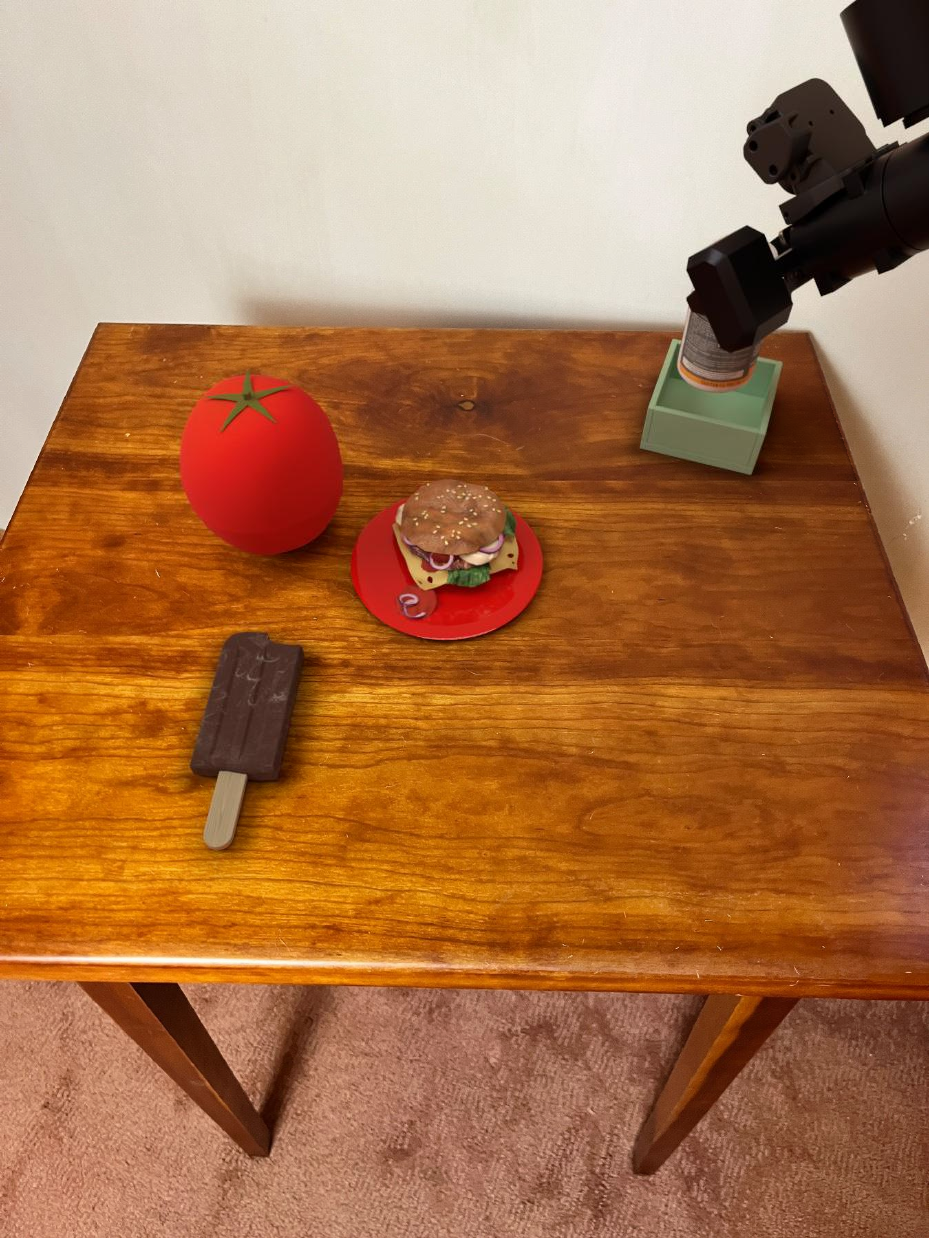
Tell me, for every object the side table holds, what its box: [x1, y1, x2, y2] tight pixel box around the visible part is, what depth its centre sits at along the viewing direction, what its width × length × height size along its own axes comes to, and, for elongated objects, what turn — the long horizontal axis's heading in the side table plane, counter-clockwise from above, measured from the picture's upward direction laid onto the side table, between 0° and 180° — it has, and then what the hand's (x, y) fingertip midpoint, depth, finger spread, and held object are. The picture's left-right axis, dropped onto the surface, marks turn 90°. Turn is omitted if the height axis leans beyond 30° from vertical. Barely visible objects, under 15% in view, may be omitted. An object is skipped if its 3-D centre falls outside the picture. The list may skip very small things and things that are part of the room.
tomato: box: [179, 368, 344, 556], centre depth 64 cm, size 11×11×13 cm
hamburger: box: [350, 478, 544, 641], centre depth 64 cm, size 14×14×6 cm
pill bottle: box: [677, 233, 778, 393], centre depth 65 cm, size 6×6×10 cm
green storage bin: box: [639, 338, 783, 476], centre depth 74 cm, size 9×9×4 cm
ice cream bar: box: [189, 631, 305, 851], centre depth 58 cm, size 5×2×15 cm
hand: (718, 287), depth 64 cm, fingers closed on pill bottle, 6 cm apart
